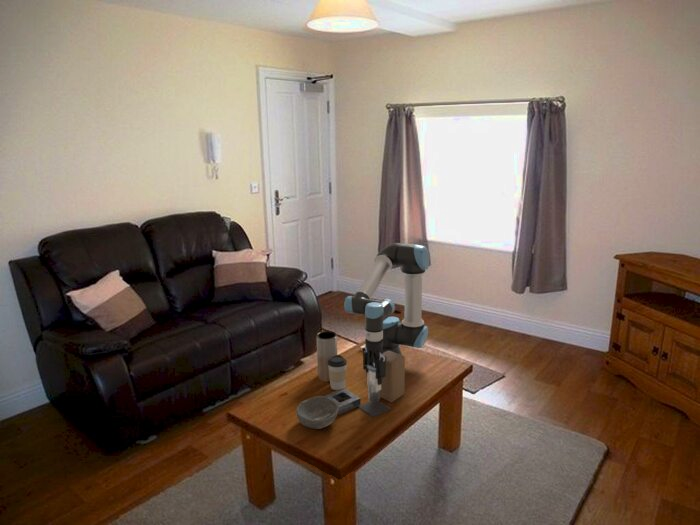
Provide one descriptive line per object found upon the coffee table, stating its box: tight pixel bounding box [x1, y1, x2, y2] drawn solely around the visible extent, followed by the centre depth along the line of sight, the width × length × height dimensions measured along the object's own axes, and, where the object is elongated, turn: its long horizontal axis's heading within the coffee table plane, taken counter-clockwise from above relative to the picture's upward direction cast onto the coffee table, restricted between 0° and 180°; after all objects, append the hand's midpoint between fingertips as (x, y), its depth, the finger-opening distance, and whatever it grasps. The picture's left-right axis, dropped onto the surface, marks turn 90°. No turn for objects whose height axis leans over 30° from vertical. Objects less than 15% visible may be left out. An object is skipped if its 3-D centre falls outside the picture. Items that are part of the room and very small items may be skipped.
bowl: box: [295, 395, 339, 430], centre depth 208 cm, size 18×18×8 cm
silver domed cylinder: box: [366, 362, 381, 402], centre depth 216 cm, size 6×6×16 cm
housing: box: [323, 387, 362, 415], centre depth 223 cm, size 12×12×4 cm
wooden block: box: [380, 351, 406, 403], centre depth 227 cm, size 10×10×20 cm
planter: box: [316, 330, 338, 382], centre depth 245 cm, size 10×10×23 cm
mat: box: [358, 400, 391, 418], centre depth 219 cm, size 10×10×1 cm
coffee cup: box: [328, 354, 348, 391], centre depth 237 cm, size 9×9×15 cm
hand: (374, 387), depth 217 cm, fingers closed on silver domed cylinder, 5 cm apart
